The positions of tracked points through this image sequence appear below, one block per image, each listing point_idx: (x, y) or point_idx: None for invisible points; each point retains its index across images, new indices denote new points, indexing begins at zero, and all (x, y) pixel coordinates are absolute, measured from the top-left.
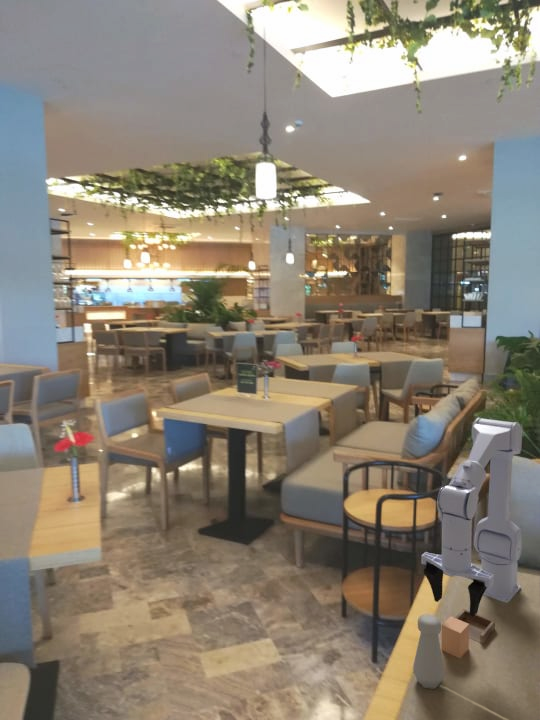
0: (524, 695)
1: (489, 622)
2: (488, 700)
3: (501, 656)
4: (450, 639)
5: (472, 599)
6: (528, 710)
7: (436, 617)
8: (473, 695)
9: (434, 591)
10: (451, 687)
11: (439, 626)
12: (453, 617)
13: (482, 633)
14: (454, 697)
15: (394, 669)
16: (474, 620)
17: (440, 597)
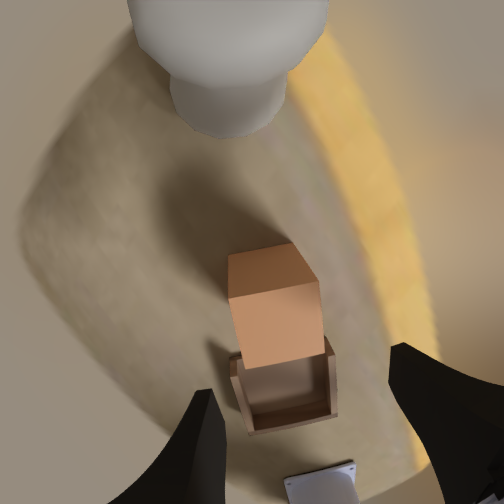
0: (49, 275)
1: (260, 425)
2: (76, 181)
3: (170, 357)
4: (269, 270)
5: (175, 465)
6: (19, 238)
7: (199, 40)
8: (108, 160)
9: (432, 369)
10: (166, 130)
11: (130, 12)
12: (312, 355)
13: (237, 383)
14: (135, 105)
15: (332, 57)
16: (300, 409)
17: (392, 377)
